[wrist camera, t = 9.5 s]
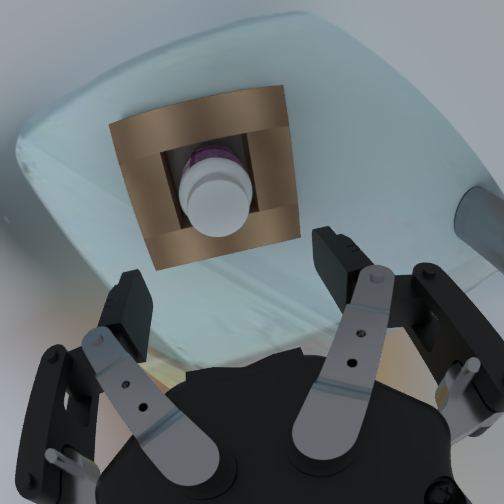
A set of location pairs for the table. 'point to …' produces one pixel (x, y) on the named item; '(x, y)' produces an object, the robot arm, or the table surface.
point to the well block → (173, 159)
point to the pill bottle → (215, 190)
